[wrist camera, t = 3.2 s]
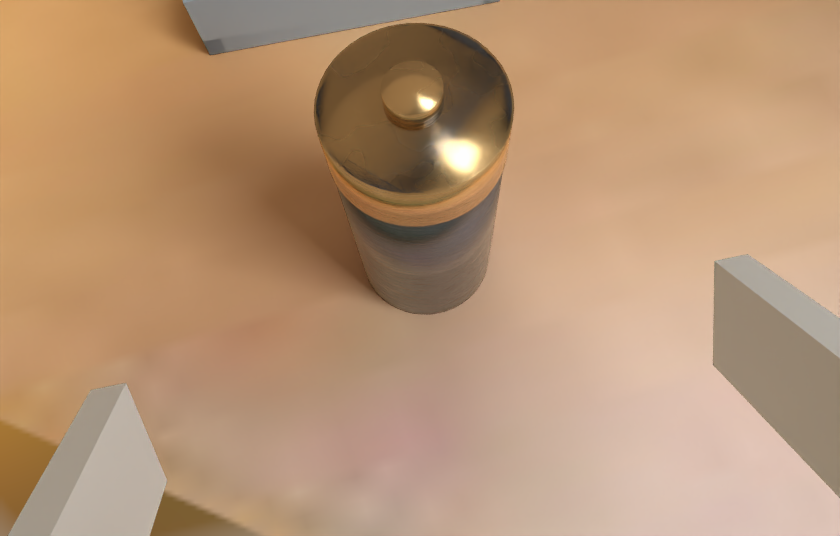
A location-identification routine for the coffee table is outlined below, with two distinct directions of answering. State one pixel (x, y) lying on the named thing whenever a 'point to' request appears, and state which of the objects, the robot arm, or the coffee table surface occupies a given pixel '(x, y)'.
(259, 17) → the tray
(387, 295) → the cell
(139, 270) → the coffee table surface
